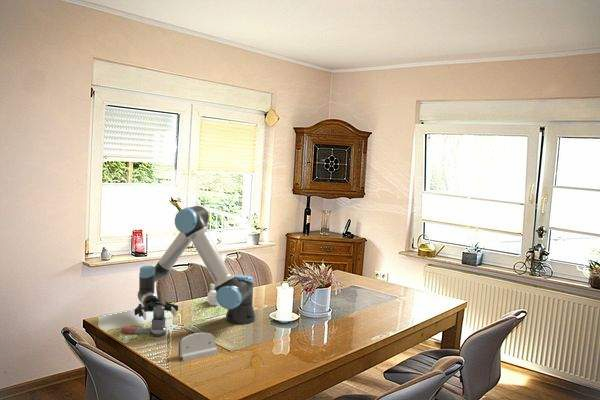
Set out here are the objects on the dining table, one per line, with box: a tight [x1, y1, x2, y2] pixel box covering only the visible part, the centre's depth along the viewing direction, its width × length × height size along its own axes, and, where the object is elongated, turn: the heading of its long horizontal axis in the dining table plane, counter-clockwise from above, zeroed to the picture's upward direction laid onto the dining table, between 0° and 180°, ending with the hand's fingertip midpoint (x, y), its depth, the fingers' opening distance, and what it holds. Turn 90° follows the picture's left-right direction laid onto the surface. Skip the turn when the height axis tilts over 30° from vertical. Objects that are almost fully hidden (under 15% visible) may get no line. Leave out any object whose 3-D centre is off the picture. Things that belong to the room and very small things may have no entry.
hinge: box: [177, 332, 219, 362], centre depth 223 cm, size 17×5×10 cm, turn 128°
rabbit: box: [206, 283, 220, 307], centre depth 295 cm, size 12×9×12 cm
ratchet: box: [121, 325, 167, 338], centre depth 244 cm, size 20×7×6 cm, turn 90°
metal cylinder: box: [151, 305, 166, 330], centre depth 244 cm, size 5×5×10 cm
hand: (160, 315), depth 241 cm, fingers open, 13 cm apart
